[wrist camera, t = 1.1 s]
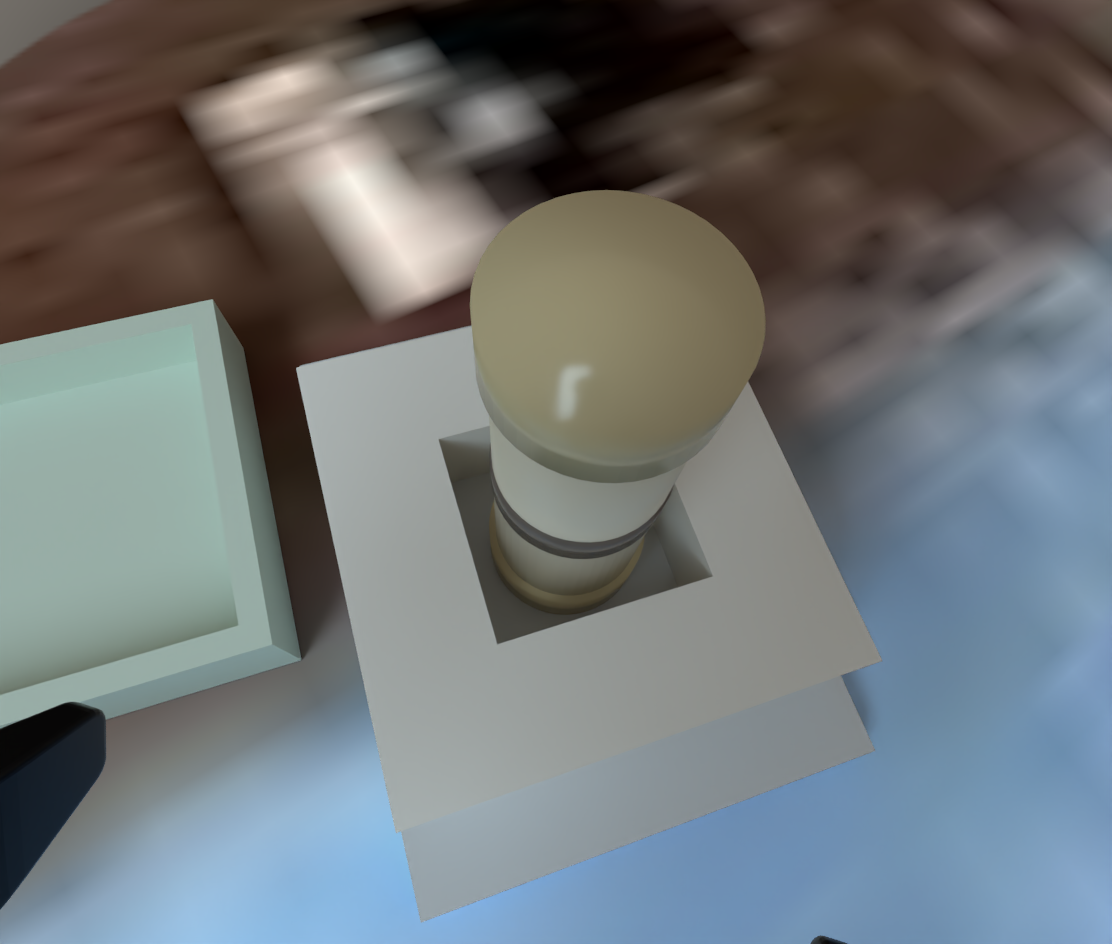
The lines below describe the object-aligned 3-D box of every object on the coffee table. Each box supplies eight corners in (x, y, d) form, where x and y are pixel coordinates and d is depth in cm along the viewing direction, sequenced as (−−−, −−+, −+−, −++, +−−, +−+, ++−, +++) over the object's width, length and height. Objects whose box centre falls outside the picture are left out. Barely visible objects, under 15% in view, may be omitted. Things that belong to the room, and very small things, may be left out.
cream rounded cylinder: (656, 589, 23) (815, 393, 11) (514, 634, 22) (520, 474, 10) (607, 459, 25) (698, 167, 13) (473, 496, 24) (436, 221, 12)
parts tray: (301, 660, 22) (272, 644, 20) (-121, 788, 20) (-220, 791, 18) (243, 347, 27) (213, 299, 24) (-112, 428, 25) (-190, 384, 22)
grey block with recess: (860, 751, 22) (940, 747, 18) (425, 915, 20) (402, 953, 16) (656, 296, 29) (681, 217, 25) (307, 379, 26) (269, 306, 22)
